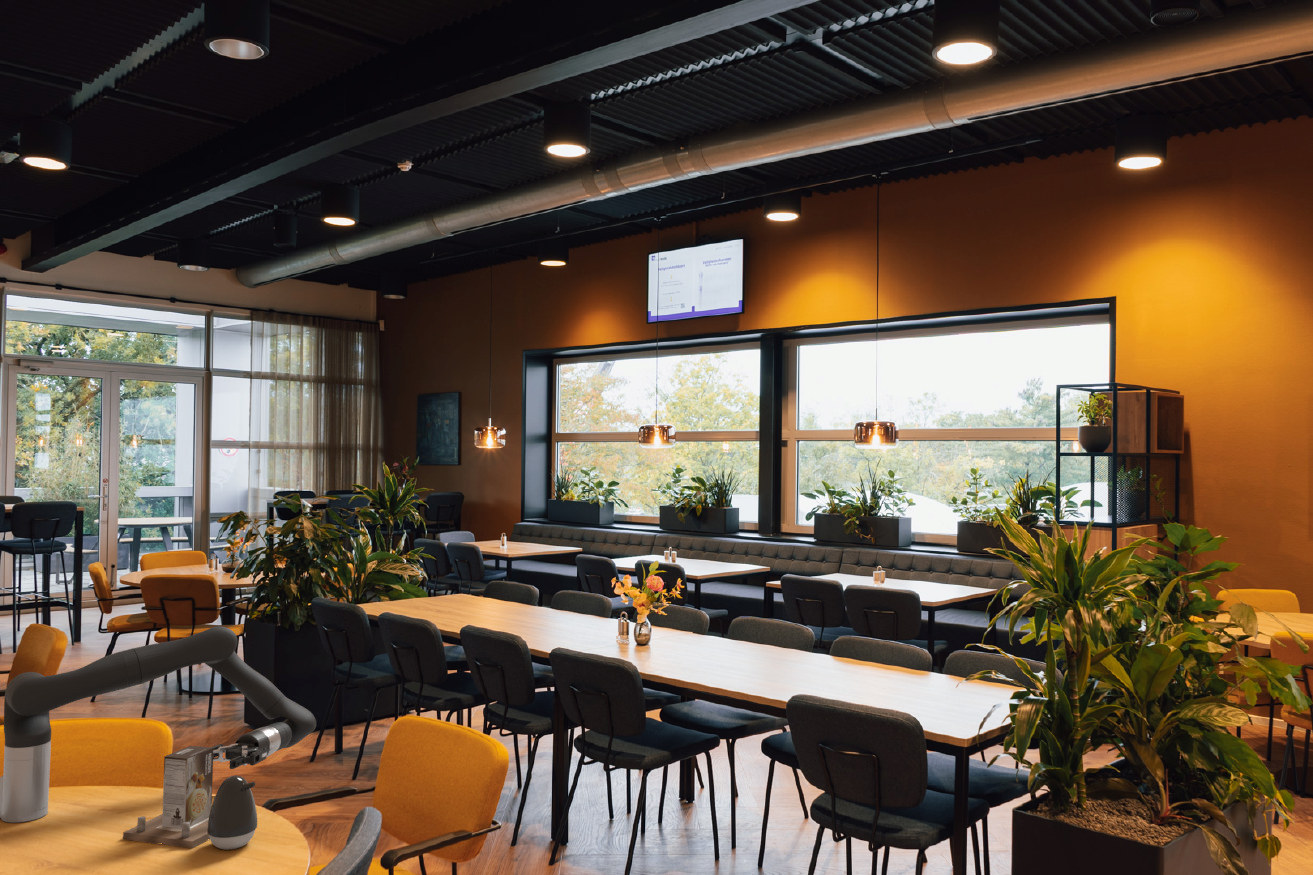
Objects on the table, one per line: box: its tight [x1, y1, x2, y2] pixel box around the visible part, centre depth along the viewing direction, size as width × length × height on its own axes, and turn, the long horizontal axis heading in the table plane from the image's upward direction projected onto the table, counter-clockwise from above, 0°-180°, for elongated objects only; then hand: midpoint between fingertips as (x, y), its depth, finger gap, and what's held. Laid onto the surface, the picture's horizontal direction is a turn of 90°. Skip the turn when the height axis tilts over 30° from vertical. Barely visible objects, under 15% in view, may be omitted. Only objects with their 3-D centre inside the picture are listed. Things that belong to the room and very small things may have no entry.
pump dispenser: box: [207, 775, 258, 851], centre depth 214 cm, size 10×10×15 cm
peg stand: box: [122, 813, 210, 849], centre depth 222 cm, size 18×18×4 cm
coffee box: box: [162, 745, 214, 829], centre depth 223 cm, size 9×6×16 cm
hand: (215, 763), depth 232 cm, fingers open, 8 cm apart
